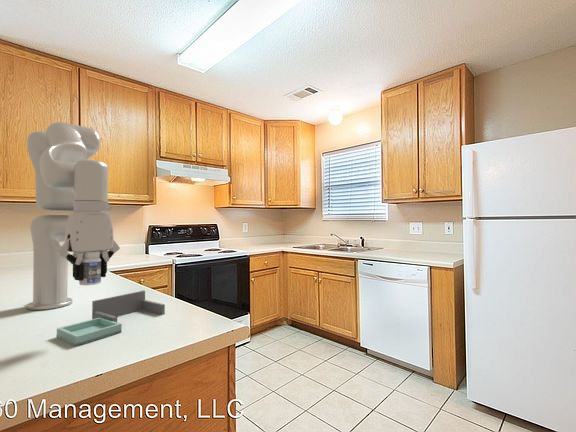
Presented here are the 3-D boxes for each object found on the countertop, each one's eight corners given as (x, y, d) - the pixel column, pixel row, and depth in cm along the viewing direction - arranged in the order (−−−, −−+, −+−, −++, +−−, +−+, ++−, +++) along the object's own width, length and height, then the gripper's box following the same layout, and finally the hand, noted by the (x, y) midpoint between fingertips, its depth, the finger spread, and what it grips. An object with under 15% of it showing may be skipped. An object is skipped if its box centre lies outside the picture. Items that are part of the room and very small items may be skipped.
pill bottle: (90, 286, 76) (90, 252, 77) (74, 285, 77) (75, 252, 78) (105, 282, 81) (105, 250, 81) (90, 281, 82) (90, 250, 82)
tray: (56, 337, 77) (56, 328, 77) (100, 325, 86) (100, 317, 86) (76, 346, 72) (76, 336, 72) (121, 332, 81) (121, 323, 81)
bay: (92, 321, 89) (92, 301, 89) (143, 308, 103) (143, 290, 103) (113, 329, 83) (113, 306, 83) (164, 313, 97) (164, 294, 97)
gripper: (116, 209, 89) (115, 272, 88) (45, 207, 74) (44, 282, 74) (130, 209, 85) (130, 274, 84) (59, 206, 70) (58, 285, 70)
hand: (90, 277), depth 79 cm, fingers closed on pill bottle, 4 cm apart
